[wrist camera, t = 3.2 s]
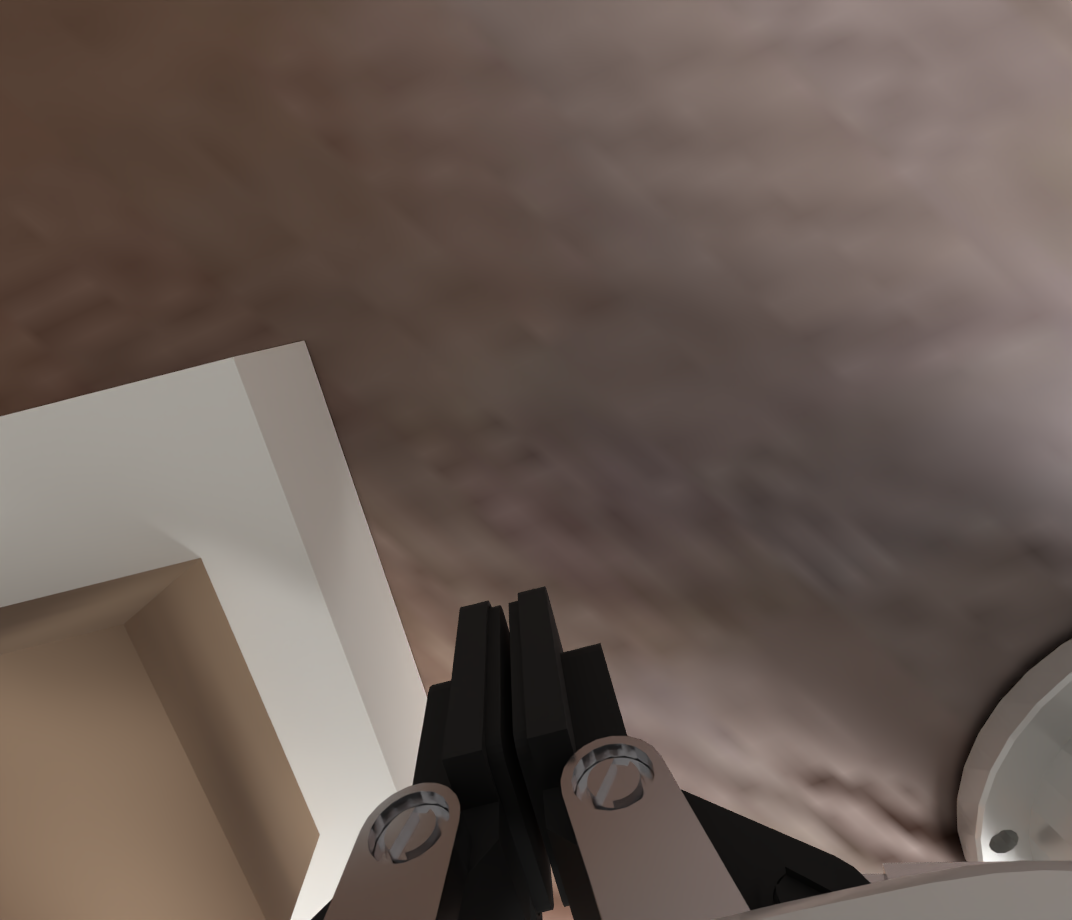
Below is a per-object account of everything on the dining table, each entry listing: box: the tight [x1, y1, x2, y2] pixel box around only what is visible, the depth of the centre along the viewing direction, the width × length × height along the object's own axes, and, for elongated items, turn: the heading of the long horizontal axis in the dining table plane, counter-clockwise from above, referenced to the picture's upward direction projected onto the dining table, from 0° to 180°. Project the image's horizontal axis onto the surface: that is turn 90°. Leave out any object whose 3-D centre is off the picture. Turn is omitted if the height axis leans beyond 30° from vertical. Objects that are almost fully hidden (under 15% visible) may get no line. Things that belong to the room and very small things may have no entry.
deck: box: [0, 341, 427, 920], centre depth 15 cm, size 18×14×4 cm
